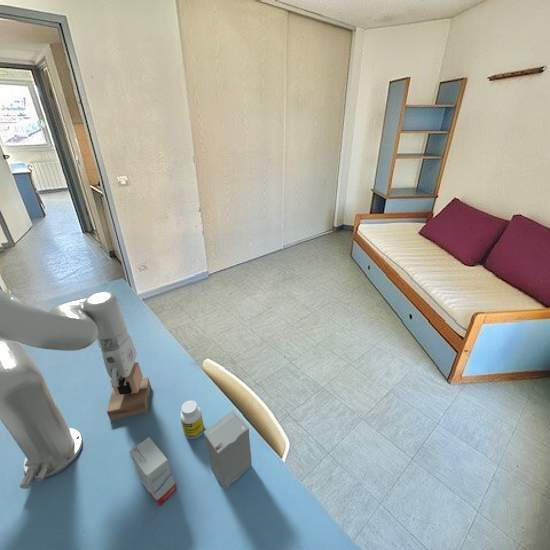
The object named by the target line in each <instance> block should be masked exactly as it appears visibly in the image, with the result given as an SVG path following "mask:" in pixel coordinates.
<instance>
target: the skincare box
mask: <svg viewBox="0 0 550 550" xmlns="http://www.w3.org/2000/svg"><path fill="white" fill-rule="evenodd" d="M203 436H204V441H205V446H206V449H207V455H208V459H209V463H210V469H211V471H212V472H213V473H214V475H215V477H216V478H217V480H218V481H219V482H220V484H221V485H222V486H223V488H224V489H225V490H226V489H228V488H229V487H230V486H231V485H232V484H233V483H234V482H235V481H236V480H237V479H239V478H240V477H241V476H242V475H243V474H244V473H246V471H248V470H249V468H251V467H252V451H251V441H250V438H251V437H250V428H249V426H248V425H246V423H245V422H244V421H243V420H242V419H241V418H240V417H239V416H238V415H237V413H236V412H235V411H234V410H232V411H230V412H229V413H227V414H226V415H225V416H223V417H222V418H220V419H219V420H217V421H216V422H215V423H213V424H212V425H211V426H209V427H208V428H206V429H205V430H203Z"/></svg>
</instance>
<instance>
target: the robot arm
mask: <svg viewBox="0 0 550 550" xmlns="http://www.w3.org/2000/svg"><path fill="white" fill-rule="evenodd" d="M94 342H96V343H97V346H98V348H100V349H101V351H100V352H101V355H102V360H103V363H104V366H105V369H106V373H107V375H108V376H109V378H110V380H111V379H112V384H111V388H113V387H117V389H118V391H119V394H120V395H123V394H130V393H131V392H132V390H131V387H130V384H129V382H127V378H126V377H128V376H129V375H130V373H131V370H132V368H133V365H134V362H135V361H136V358H137V355H138V353H137V351H136V347H135V344H134V341H133V340H132V337H131V335H130V333H129V331H128V328H127V324H126V321H125V318H124V316H123V313H122V308H121V306H120V304H119V299H118V297H117V295H116V294H115V293H113V292H111V291H100V292H96V293H93V294H91V295H89V296H87V297H86V298H82V299H78V300H74V301H69V302H64V303H60V304H58V305H57V306H56V305H55V306H54V307H52V308H51V309H50V310H48V311H46V310H44V309H40V308H39V307H36V306H34V305H32V304H30V303H28V302H26V301H25V300H23V299H21V298H20V297H18V296H16V295H14V294H13V293H11V292H8V291H6V290H2V289H0V421H1V422H2V424H3V425H4V427H5V428H6V430H7V431H8V432H9V434H10V435H11V437H12V438H13V441H15V443H16V444H17V446H18V447H19V449H20V450H21V453H23V454H24V457H25V458H24V459H23V464H22V467H23V470H24V473H25V477H23V479H22V481H21V483H20V485H19V488H21V489H23V490H26V489H29V488H30V487H31V485H32V483H33V481H34V479H36V481H38V482H39V481H40V482H41V481H43V480H44V479H47V478H48V477H52V476H54V475H56V474H58V473H60V472H61V471H63V470H64V469H65V468H67V467H68V466H69V465H70V464H71V463H73V461H74V460H75V459H76V457H77V456H78V455H79V453H80V452H81V449H82V447H83V443H84V442H83V436H82V434H81V432H79V430H77V429H75V428H70V427H69V425H68V423H67V421H66V419H65V418H64V415H63V414H62V411H60V408H59V406H58V404H57V403H56V401H55V399H54V397H53V395H52V393H51V392H50V389H49V387H48V384H47V383H46V379H45V377H44V375H43V373H42V371H41V369H40V368H39V366H38V365H37V363H36V362H35V361H34V359H33V358H32V356H31V355H30V353H29V352H28V351H27V349H26V348H25V346H29V347H32V348H38V349H41V350H51V351H52V350H53V351H63V352H65V351H66V352H75V351H81V350H85V349H87V348H88V347H90V346H91V345H93V344H94ZM24 345H25V346H24ZM121 377H123V381H121V382H119V381H118V378H121Z"/></svg>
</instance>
